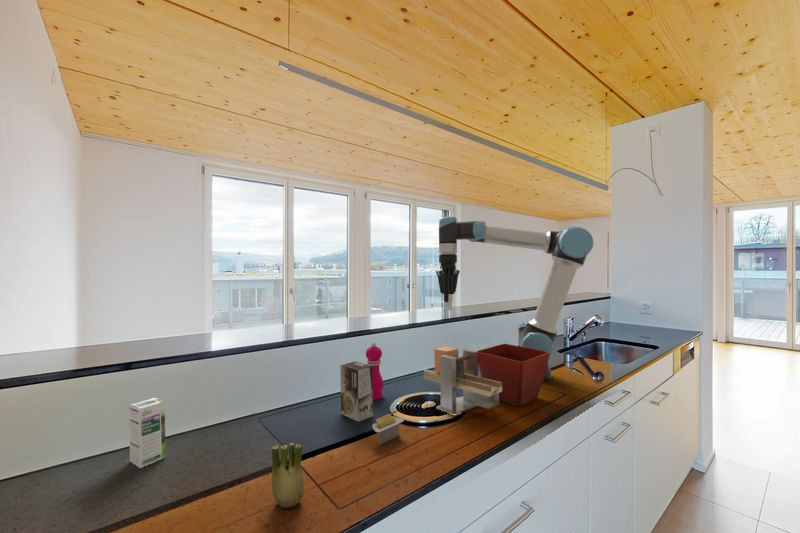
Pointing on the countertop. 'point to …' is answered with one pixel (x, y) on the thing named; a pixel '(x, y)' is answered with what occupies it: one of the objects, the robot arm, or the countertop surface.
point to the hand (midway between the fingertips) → (448, 309)
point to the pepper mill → (375, 370)
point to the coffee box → (356, 391)
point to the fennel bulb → (287, 476)
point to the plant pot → (514, 371)
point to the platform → (387, 428)
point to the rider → (444, 351)
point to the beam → (472, 384)
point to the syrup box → (147, 432)
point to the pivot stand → (449, 383)
